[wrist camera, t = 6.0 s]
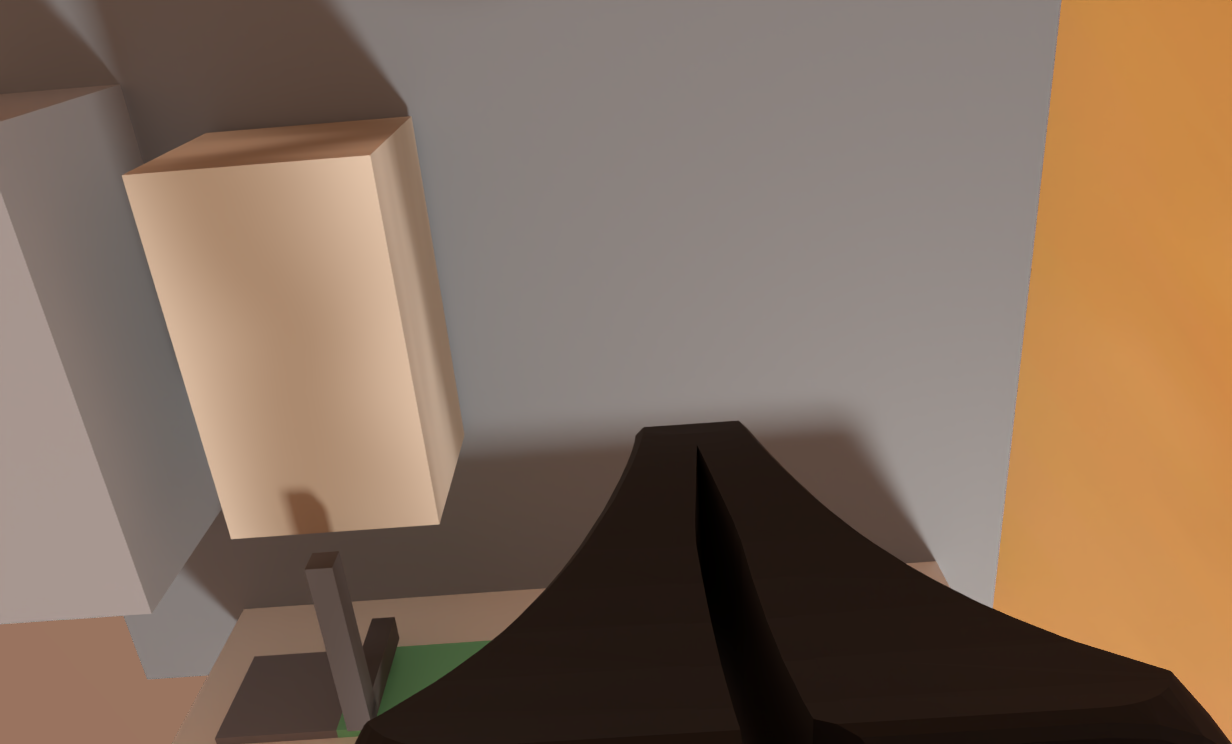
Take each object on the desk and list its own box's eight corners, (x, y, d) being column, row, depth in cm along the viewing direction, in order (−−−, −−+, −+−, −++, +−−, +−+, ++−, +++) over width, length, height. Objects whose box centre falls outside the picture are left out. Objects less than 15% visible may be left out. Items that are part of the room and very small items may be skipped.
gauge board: (1073, -341, 16) (1311, -479, 11) (976, 596, 25) (1081, 785, 19) (-153, -228, 17) (-519, -306, 11) (163, 652, 25) (41, 851, 20)
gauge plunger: (411, 116, 18) (352, 171, 14) (487, 576, 23) (460, 723, 19) (205, 132, 18) (85, 193, 14) (323, 588, 23) (259, 737, 19)
